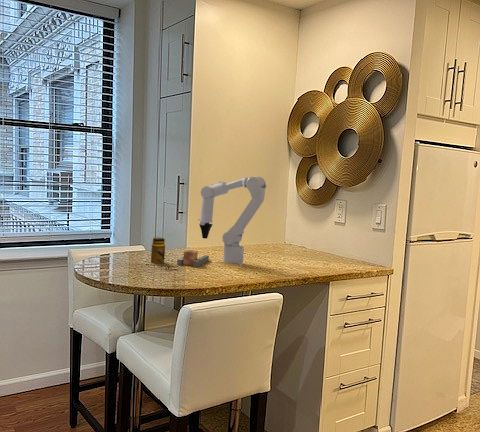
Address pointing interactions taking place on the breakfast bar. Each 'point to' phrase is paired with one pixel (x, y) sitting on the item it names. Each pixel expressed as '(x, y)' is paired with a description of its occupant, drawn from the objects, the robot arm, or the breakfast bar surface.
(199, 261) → the chute
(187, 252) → the block
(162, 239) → the condiment
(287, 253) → the breakfast bar surface
